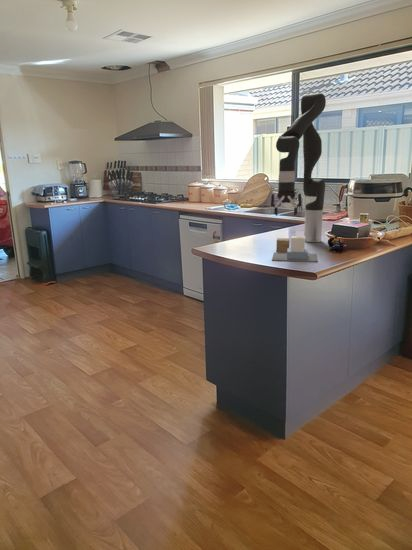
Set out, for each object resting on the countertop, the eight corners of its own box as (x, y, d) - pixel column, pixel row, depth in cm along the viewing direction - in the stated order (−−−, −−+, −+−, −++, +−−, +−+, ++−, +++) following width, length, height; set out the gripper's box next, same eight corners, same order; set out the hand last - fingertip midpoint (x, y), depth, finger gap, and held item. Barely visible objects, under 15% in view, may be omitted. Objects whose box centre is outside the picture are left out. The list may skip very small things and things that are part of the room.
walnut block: (276, 249, 216) (277, 238, 214) (289, 250, 215) (289, 238, 213) (276, 252, 210) (276, 240, 209) (288, 252, 209) (289, 240, 207)
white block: (290, 248, 200) (291, 235, 199) (304, 249, 199) (304, 236, 197) (290, 251, 194) (291, 238, 193) (304, 251, 193) (305, 238, 192)
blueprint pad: (273, 253, 207) (274, 246, 206) (316, 254, 203) (317, 247, 202) (271, 260, 192) (272, 253, 191) (318, 262, 188) (318, 254, 187)
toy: (325, 249, 207) (325, 236, 219) (329, 261, 209) (329, 247, 222) (345, 244, 203) (344, 231, 216) (349, 256, 206) (347, 242, 218)
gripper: (301, 180, 205) (300, 214, 209) (271, 180, 208) (271, 214, 212) (302, 181, 198) (300, 216, 202) (271, 181, 200) (270, 216, 205)
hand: (285, 215), depth 207 cm, fingers open, 8 cm apart
